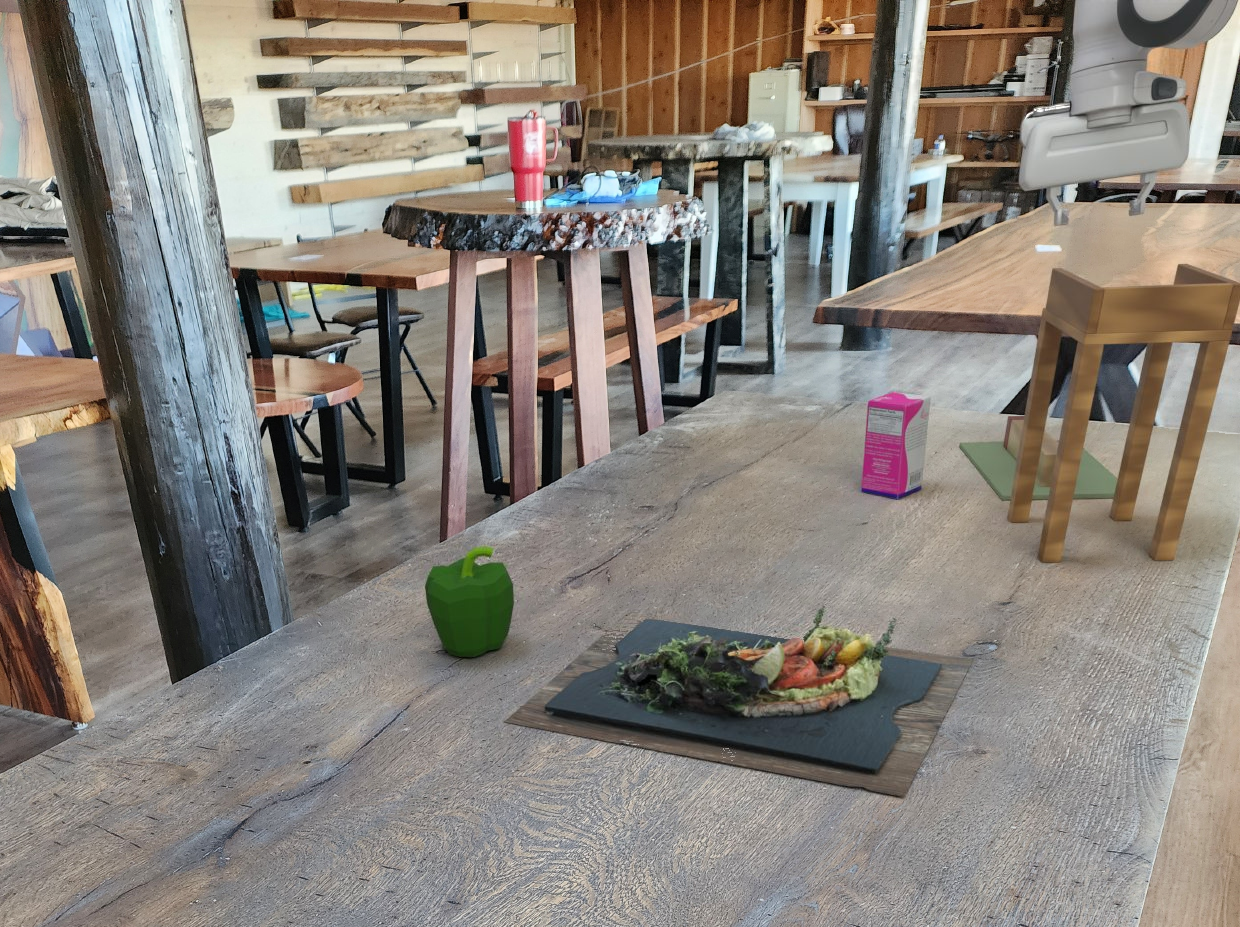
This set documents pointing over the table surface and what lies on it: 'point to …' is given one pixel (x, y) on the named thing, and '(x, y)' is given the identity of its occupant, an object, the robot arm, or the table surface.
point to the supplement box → (895, 444)
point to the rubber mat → (1000, 476)
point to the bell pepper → (470, 604)
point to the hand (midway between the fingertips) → (1098, 219)
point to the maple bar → (1046, 453)
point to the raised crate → (1128, 317)
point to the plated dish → (758, 700)
